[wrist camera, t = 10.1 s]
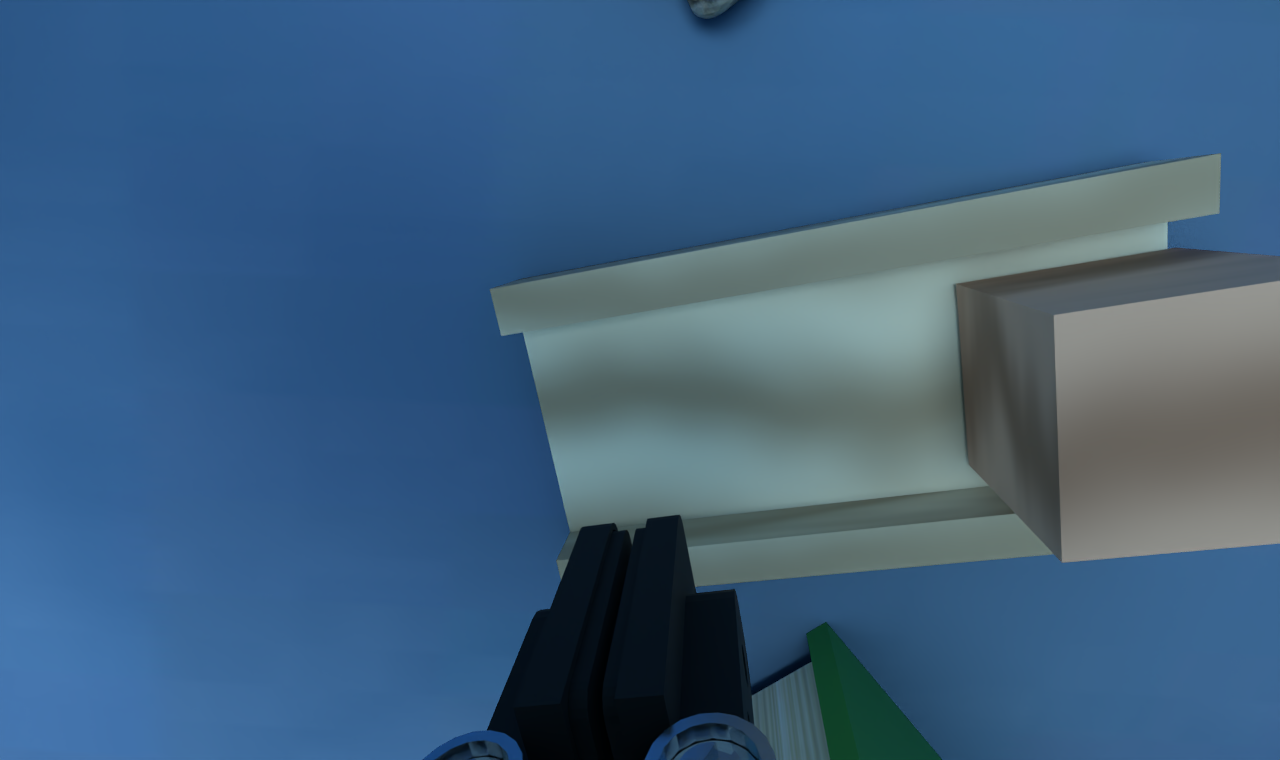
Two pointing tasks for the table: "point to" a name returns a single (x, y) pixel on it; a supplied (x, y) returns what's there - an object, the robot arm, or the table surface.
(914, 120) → the table surface
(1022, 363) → the block
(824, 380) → the chute
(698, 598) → the robot arm
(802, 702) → the hardback book
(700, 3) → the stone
